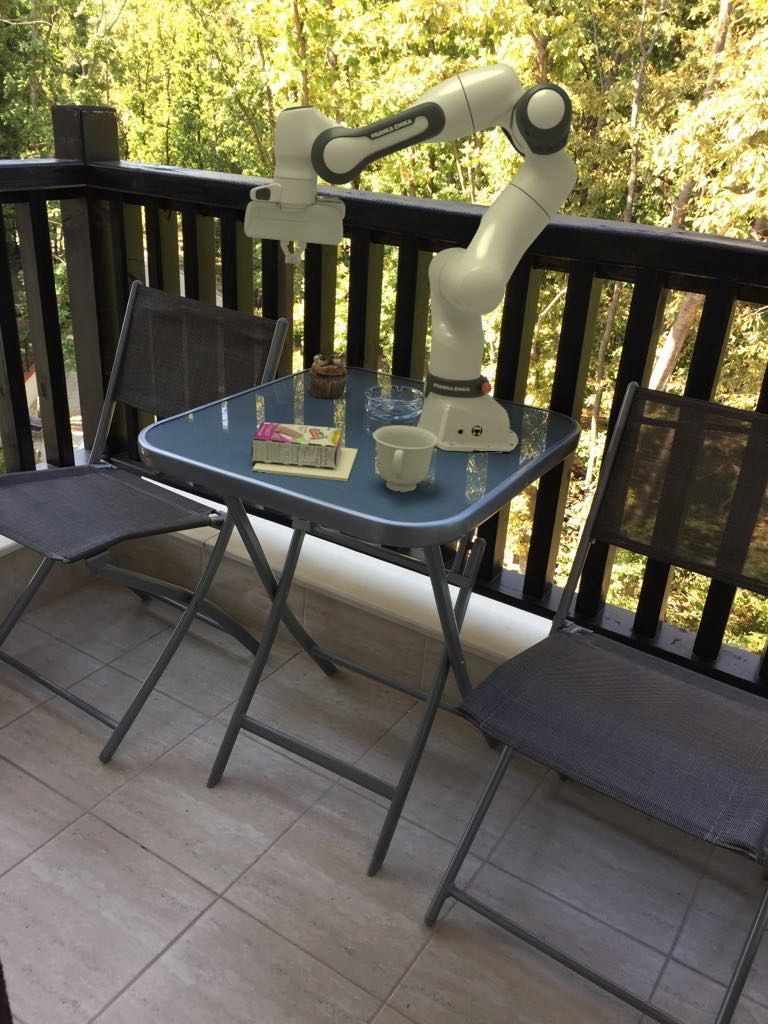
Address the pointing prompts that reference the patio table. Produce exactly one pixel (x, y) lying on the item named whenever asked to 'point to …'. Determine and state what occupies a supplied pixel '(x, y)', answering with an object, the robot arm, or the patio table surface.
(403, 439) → the teacup
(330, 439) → the candy bar box
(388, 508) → the patio table surface
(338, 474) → the plain beige board
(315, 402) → the patio table surface
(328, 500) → the patio table surface
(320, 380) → the cupcake
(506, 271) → the robot arm
